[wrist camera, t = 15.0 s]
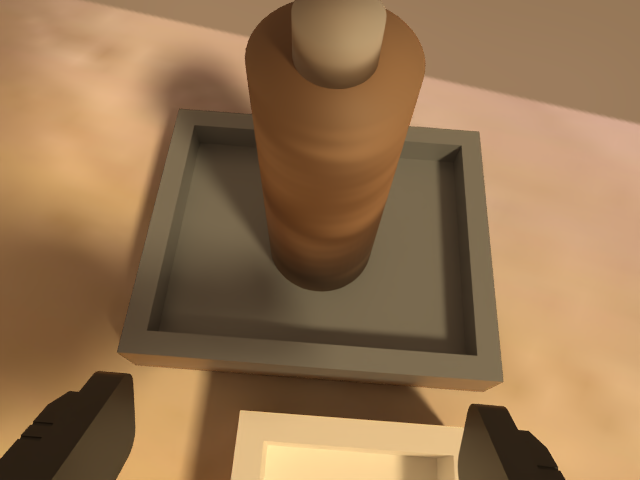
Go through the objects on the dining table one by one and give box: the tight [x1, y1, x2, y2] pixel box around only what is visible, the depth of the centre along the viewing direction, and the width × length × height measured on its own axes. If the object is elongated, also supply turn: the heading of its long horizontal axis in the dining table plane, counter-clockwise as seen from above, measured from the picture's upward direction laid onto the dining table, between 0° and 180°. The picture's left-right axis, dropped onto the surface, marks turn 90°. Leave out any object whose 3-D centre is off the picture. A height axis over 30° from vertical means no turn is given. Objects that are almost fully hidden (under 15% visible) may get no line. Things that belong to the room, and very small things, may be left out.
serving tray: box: [117, 109, 503, 392], centre depth 24 cm, size 16×13×2 cm
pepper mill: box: [245, 0, 425, 292], centre depth 18 cm, size 5×5×13 cm
